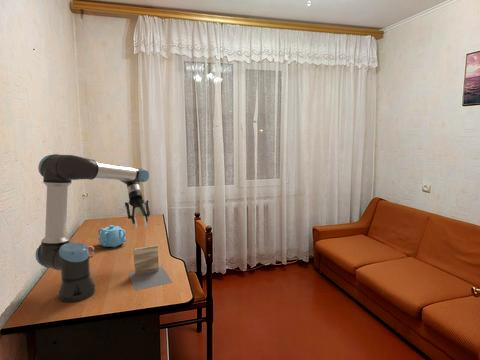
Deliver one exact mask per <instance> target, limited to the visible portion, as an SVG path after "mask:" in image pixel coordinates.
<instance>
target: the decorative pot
mask: <svg viewBox="0 0 480 360" xmlns="http://www.w3.org/2000/svg"><path fill="white" fill-rule="evenodd" d="M97 232H98V243H99V244H100V245H101V246H102V247H104V248H109V247H110V248H111V247H112V248H117V247H119V246H121V245H122V244H123V243H126V242H127V238H126V233H127V232H126V231H125V229H123V228H122V227H121V226H119V225H113V224H110V225H108V226H106V227H105V228H104V227H103V228H102V227H101V228H99V229H98V231H97Z"/></svg>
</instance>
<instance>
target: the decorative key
mask: <svg viewBox="0 0 480 360" xmlns="http://www.w3.org/2000/svg"><path fill="white" fill-rule="evenodd" d="M87 247H88V249H89V248H91V249H92V251H90V253H91V255H89V258H92V257H94V255H95V253H94V251H95V247H94V246H92V245H88V246H87Z"/></svg>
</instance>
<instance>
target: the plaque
mask: <svg viewBox="0 0 480 360" xmlns="http://www.w3.org/2000/svg"><path fill="white" fill-rule="evenodd" d="M158 247H159V245H158V244H153V245H147V246H140V247H133V257H134V258H133V259H134V260H133V261H134V272H135V275H140V274H145V273H150V272H155V271H159V267H160V266H159V248H158Z"/></svg>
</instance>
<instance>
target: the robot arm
mask: <svg viewBox="0 0 480 360" xmlns="http://www.w3.org/2000/svg"><path fill="white" fill-rule="evenodd" d="M37 167H38V173H39V174H40V175H41V176H42V177H43V179H42V180H43V181H42V182H43V184H44V185H46V202H45V203H46V204H45V207H46V208H45V230H44V231H45V233H44V235H45V236H44V237H43V238H42V239H41V241H40V244H39V246H38V247H37V248H36V250H35V260H36V261H37V263H38V265H40V266H42V267H44V268H47V269H53V270H55V271H56V270H57V271H60V274H61V284H60V288H59V290H58V299H59V301H61V302H64V303H73V302H79V301H84V300H85V299H88V298H89V297H91V296H93V295H94V294H95V292H96V286H95V283H94V281H93V279H92V277H91V268H90V257H89V256H90V252H89V248H88V246H87V244H85V243H83V242H77V241H76V242H70V238H69V237H68V236H67V215H68V193H69V192H68V188H69V186H70V185H71V184H72V181H73V180H74V181H77V180H94V179H102V180H103V179H105V180H115V181H117V180H118V181H120V182H122V183H123V184H125V185H126V188H127V194H128V199H129V200H128V202H125V203H124V206H125V208H126V213H127V214H126V215H127V219H129V220H130V219H131V223H132V224H133V225H134V229H135V230H138V223H137V218H136V216H135V211H136V208H139V209H140V212H141V213H142V215H143V225H144V229H147V227H148V224H147V223H148V221H149V219H148V217H150V215H151V212H150V207H149V202H150V201H149V200H144V198H143V193H142V189H141V185H140V183H145V182H147V181H149V178H150V172H149V170H148V169H146V168H136V167H130V166H124V165H120V164H109V163H102V162H98V161H97V160H95V159H90V158H87V157H82V156H77V155H73V154H57V153H55V154H48V155H46V156H44V157H43V158H42V159H41V160H40V161H39V163H38V166H37ZM143 204H144V205H145V208H144V206H143ZM130 206H131V207H132V212H130V211H131V210H130Z"/></svg>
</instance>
